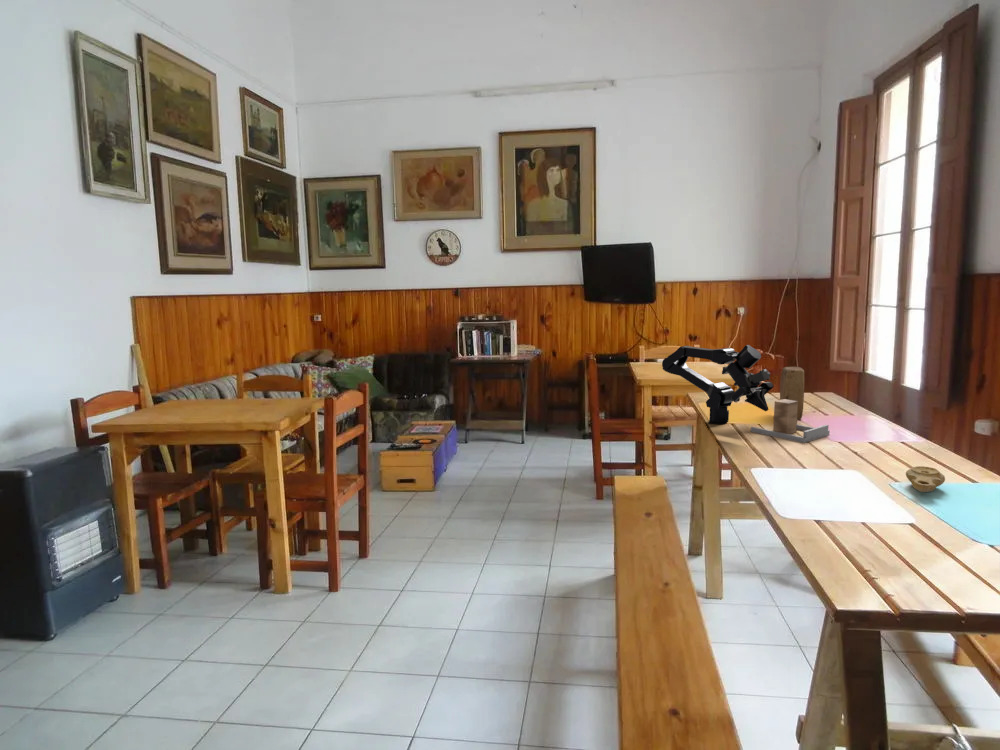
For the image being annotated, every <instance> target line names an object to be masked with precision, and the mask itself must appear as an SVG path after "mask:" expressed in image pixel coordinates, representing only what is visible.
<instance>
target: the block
mask: <svg viewBox="0 0 1000 750" xmlns="http://www.w3.org/2000/svg"><path fill="white" fill-rule="evenodd" d="M780 374H781V375H780V383H779V400H782V399H787V400H794V401H798V409H797V421H799V420H801V419H802V418H803V414H804V401H805V370H804V369H803V368H802V367H799V366H785V367H783V369H782V371H781V373H780Z"/></svg>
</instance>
